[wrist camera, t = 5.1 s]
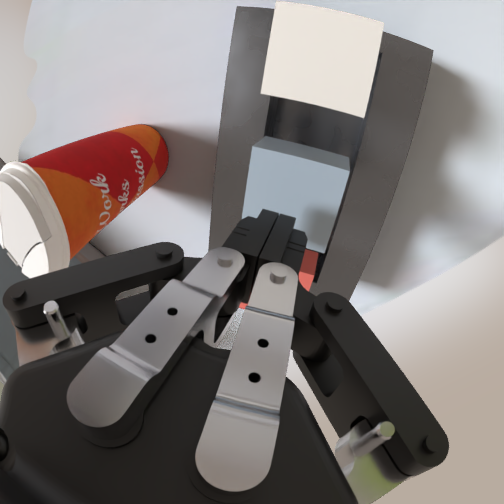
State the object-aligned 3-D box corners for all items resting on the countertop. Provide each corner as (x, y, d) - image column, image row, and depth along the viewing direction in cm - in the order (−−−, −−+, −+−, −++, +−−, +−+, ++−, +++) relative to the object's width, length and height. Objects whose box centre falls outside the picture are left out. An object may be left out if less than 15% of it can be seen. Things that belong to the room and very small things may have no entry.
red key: (263, 216, 22) (241, 254, 18) (321, 233, 22) (314, 275, 17) (254, 264, 25) (234, 305, 21) (307, 279, 24) (296, 324, 20)
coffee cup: (152, 209, 29) (47, 306, 17) (99, 157, 27) (-17, 228, 15) (198, 150, 24) (65, 240, 12) (134, 93, 22) (-13, 141, 10)
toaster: (114, 338, 47) (51, 427, 30) (-5, 224, 43) (-74, 282, 26) (141, 278, 35) (39, 407, 19) (-6, 145, 31) (-103, 205, 15)
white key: (294, 21, 13) (276, 0, 9) (372, 38, 12) (384, 22, 8) (283, 89, 16) (260, 93, 12) (357, 107, 15) (364, 118, 11)
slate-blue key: (276, 128, 17) (252, 146, 13) (348, 146, 17) (349, 171, 12) (264, 192, 20) (240, 229, 16) (330, 210, 19) (324, 253, 15)
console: (254, 17, 17) (236, 6, 13) (418, 54, 15) (433, 50, 12) (224, 240, 28) (207, 264, 25) (348, 276, 27) (346, 305, 23)
